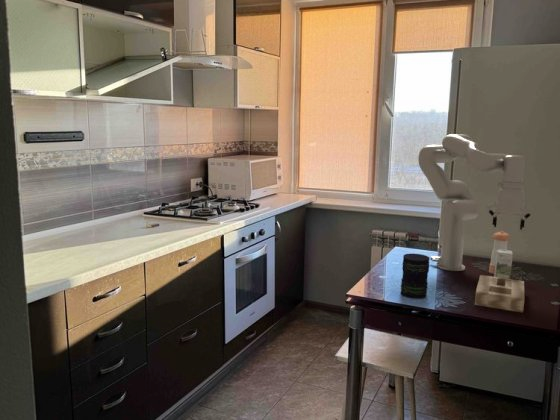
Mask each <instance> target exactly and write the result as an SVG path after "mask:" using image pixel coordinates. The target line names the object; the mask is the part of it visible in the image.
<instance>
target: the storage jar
mask: <svg viewBox="0 0 560 420" xmlns="http://www.w3.org/2000/svg"><path fill="white" fill-rule="evenodd" d="M402 258H403V259H402V278H401V283H400V295H401V296H403V297H405V298H409V299H414V300H415V299H416V300H421V299H422V300H423V299H425V298H427V293H428V284H429V283H428V274H429V272H430V261H431V257H429V256H428V255H424V254H421V253H406V254H403V257H402Z"/></svg>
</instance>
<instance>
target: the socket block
mask: <svg viewBox="0 0 560 420" xmlns="http://www.w3.org/2000/svg"><path fill="white" fill-rule="evenodd" d="M478 279H479V280H478V282H477V286H476V289H475V297H474V298H475V299H474V306H479V307H480V306H481V307H487V308H492V309H500V310H504V311H511V312H517V313H522V314H523V313H524V307H525V281H524V280H519V279H511V278H510V279H505V278H498V277H494V276H491V275H484V274H483V275H482V274H480V275H479V278H478Z"/></svg>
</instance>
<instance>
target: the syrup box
mask: <svg viewBox="0 0 560 420" xmlns="http://www.w3.org/2000/svg"><path fill="white" fill-rule="evenodd" d="M513 255H514V253H513V251H512V250H509V249H507V250H501V249H497V253H496V262H495V271H494V274H493V277H498V278H505V279H511V273H512V272H511V271H512V264H513V259H514V258H513V257H514V256H513Z"/></svg>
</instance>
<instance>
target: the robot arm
mask: <svg viewBox="0 0 560 420" xmlns="http://www.w3.org/2000/svg"><path fill="white" fill-rule="evenodd" d="M417 159H418V166H419V168H420V169H421V172H422V173H423V174H424V176H425V178H426V179H427V181H428V182H429V184H430V186H431V188H432V190H433V192H434V194H435V196H436V197H437V199H439V200H440V201H442V202H445V203H444V204H443V205H442V211H441V213H442V238H441V249H440V256H433V255H431V256H430V261H431V262H436V264H435V265H436V268H438V269H441V270H444V271H450V272H463V271H465V269H466V266H465V265H464V264H463V256H464V255H463V254H464V245H465V233H466V229H465V225H464V223H463V221H468V220H474V219H476V218H477V217H478V215H479V213H480V206H479V203H478V201H477V200H476V198H475V196H474V195H473V193H472V191H471V189H470V187H469V186H468V185H467V184H466V183H465V182H464V181H462V180H458V179H457V180H456V179H454V180H453V179H452V180H451V179H450V178H449V177H448V175H447V173H446V171H445V170H444V168H443V167H441V166H440V165H439V163H440V164H448V163H451V162H453V161H456V160H457V159H462V160H465V161H466V163H467V164H468V165H469V166H470V167H472V168H474V169H476V170H479V171H481V172H484V173H502V181H500V182H498V183H497V186H498V187H501V188H499V189H498V193H497V198H496V202H494V203H490V204H488V205H487V206H486V209H487V211H488V213H489V215H491V217H492V226H493V225H494V226H493V228H497V222H498V221H497V220H498V217H497V216H498V215H511V216H519V217H520V218H521V219H520V224H519V230H520V231H522V230H523V228H525V221H526V220H527V219H529V218H530V217H531V215H532V214H533V212H534V211H535V210H534V208H532V207H530V206H528V205H527V204H525V191H524V189H523V183H524V174H525V173H524V172H525V163H526V158H525V156H523V155H516V154H514V155H512V154H506V153H487V152H484V151H482V150H480V145H479V144H478V143H477V142H475V141H474V140H473V139H472V137H471V136H469V135H468V134H460V133H459V134H458V133H457V134H455V133H454V134H453V133H451V134H448V135H445V137H444V138H443V139H442V142H441V144H429V145H425V146H423V147H422V148H421V149H420V151H419V153H418V158H417ZM494 207H495V211H493V209H492V208H494ZM525 210H526V211H528V212H527V213H526V214H525V215H524V211H525Z"/></svg>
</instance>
